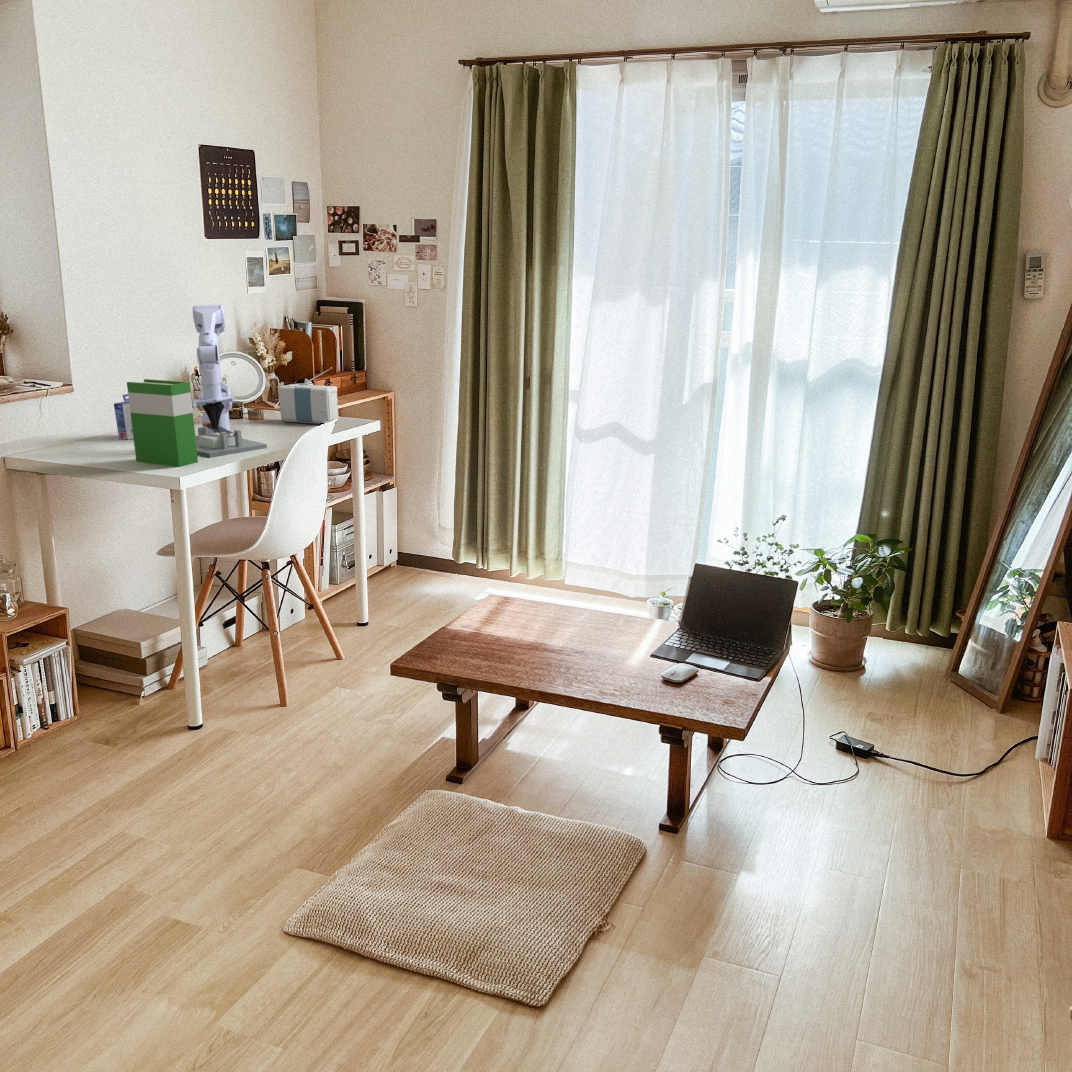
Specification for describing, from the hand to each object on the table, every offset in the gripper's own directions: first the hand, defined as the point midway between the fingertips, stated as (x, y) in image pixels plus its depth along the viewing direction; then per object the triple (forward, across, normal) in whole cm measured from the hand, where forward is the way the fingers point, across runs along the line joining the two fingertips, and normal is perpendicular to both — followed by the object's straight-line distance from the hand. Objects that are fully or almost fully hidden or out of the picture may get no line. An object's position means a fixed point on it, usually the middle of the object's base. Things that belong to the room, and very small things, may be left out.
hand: (215, 426), depth 330 cm
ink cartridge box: (+7, -9, +38) cm, 40 cm away
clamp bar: (+1, 0, -2) cm, 3 cm away
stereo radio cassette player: (+7, +47, +16) cm, 50 cm away
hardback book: (+7, -22, -9) cm, 25 cm away
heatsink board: (+7, 0, -2) cm, 7 cm away
